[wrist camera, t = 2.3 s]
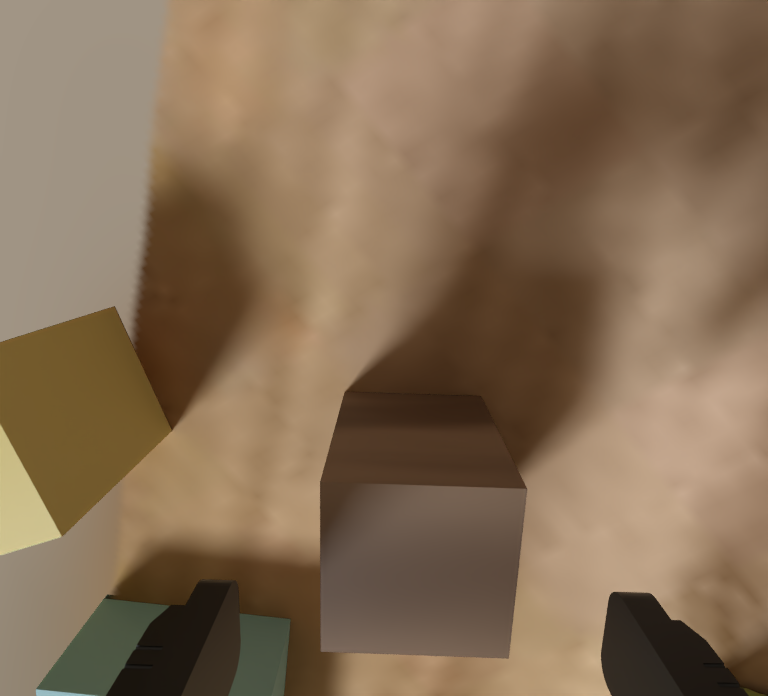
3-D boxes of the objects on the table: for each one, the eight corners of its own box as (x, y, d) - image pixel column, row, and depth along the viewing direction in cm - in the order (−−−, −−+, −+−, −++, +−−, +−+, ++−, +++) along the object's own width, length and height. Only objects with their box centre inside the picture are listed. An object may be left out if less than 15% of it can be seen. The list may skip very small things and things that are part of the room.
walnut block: (344, 391, 17) (320, 482, 11) (480, 395, 17) (527, 488, 11) (343, 511, 18) (320, 651, 12) (471, 516, 18) (508, 658, 12)
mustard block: (-9, 348, 17) (-222, 417, 11) (114, 306, 16) (-38, 354, 11) (54, 467, 18) (-110, 588, 12) (172, 430, 17) (62, 537, 12)
